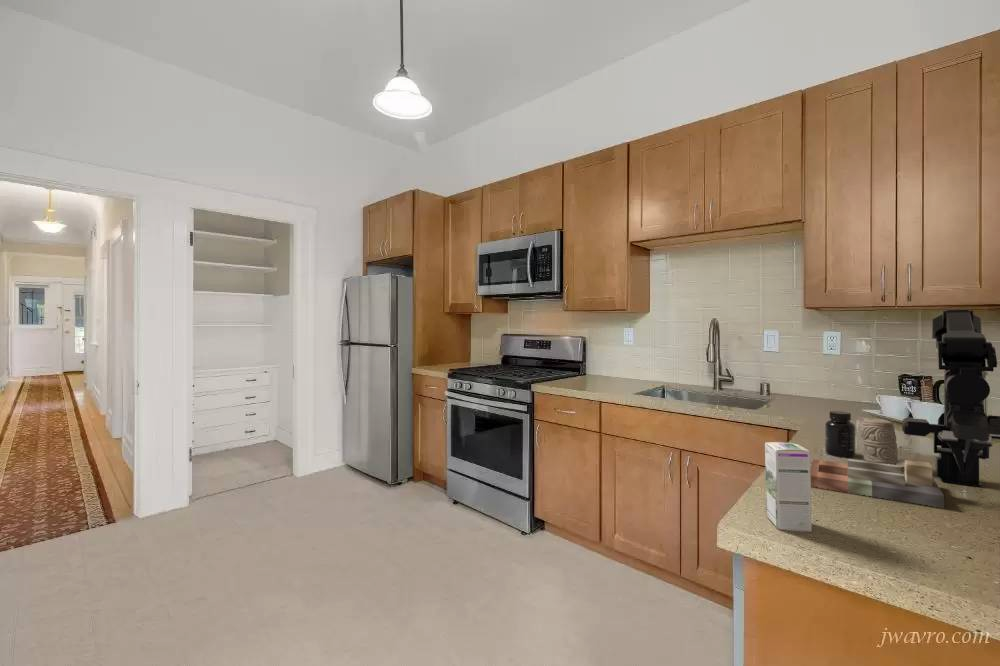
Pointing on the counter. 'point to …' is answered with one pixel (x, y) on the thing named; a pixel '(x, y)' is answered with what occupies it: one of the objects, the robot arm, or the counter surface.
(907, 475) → the maple block
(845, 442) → the supplement bottle
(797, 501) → the syrup box
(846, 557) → the counter surface
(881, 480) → the channel deck
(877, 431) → the carving
